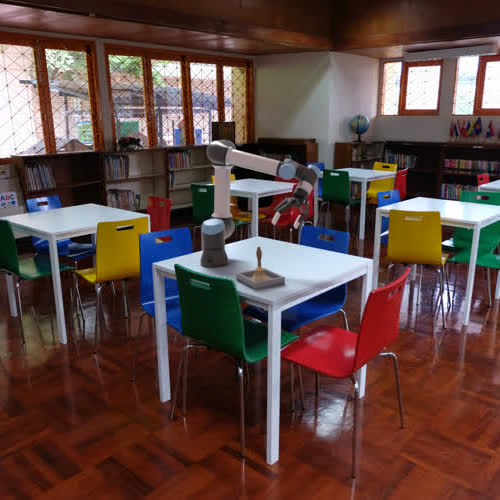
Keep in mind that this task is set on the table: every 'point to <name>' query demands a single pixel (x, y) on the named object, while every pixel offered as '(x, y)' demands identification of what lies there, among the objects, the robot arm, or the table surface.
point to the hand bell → (259, 268)
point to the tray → (272, 281)
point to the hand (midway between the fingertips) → (283, 225)
